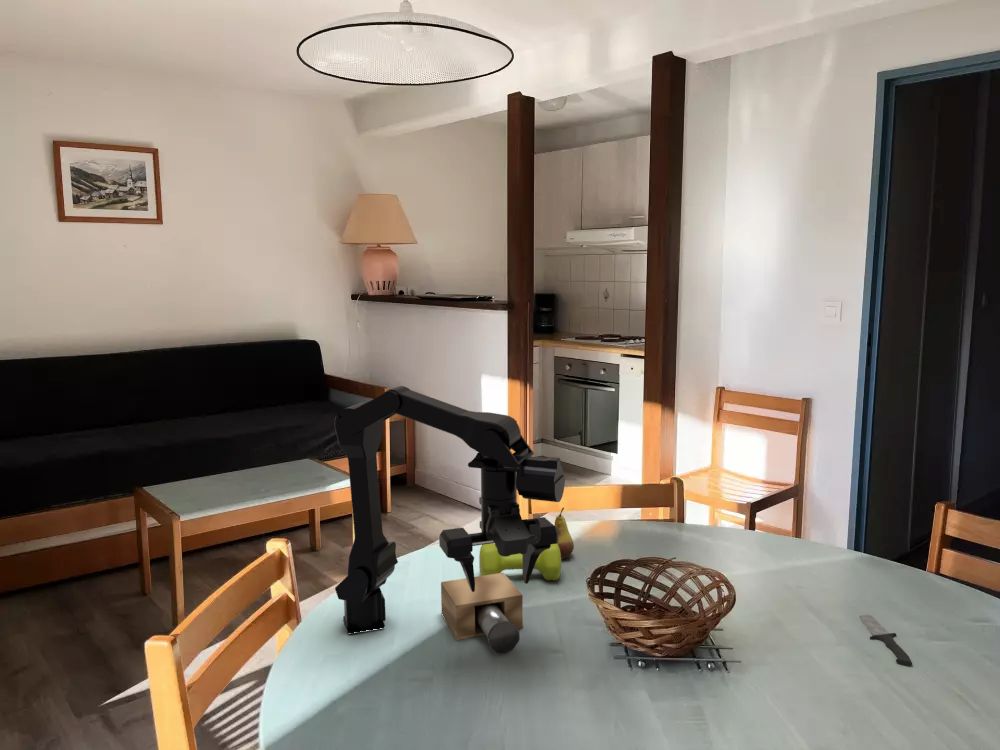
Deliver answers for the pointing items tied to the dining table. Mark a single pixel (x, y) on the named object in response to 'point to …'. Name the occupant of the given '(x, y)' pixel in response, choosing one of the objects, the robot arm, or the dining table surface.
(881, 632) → the knife
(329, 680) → the dining table surface
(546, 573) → the dumbbell
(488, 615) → the dark grey metal cylinder
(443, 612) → the housing
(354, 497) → the robot arm
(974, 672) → the dining table surface
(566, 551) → the fruit
